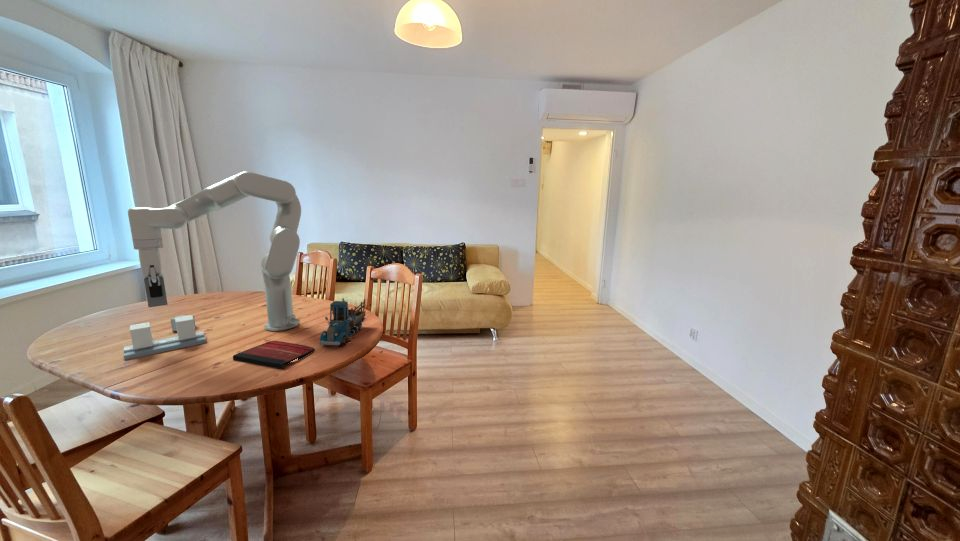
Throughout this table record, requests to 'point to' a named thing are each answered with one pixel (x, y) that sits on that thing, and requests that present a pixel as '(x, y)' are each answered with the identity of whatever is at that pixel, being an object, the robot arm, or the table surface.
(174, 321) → the power supply
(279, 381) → the table surface
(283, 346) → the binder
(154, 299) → the block
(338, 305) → the toy truck
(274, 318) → the robot arm
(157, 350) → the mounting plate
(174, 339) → the din rail
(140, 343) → the mounted modules
